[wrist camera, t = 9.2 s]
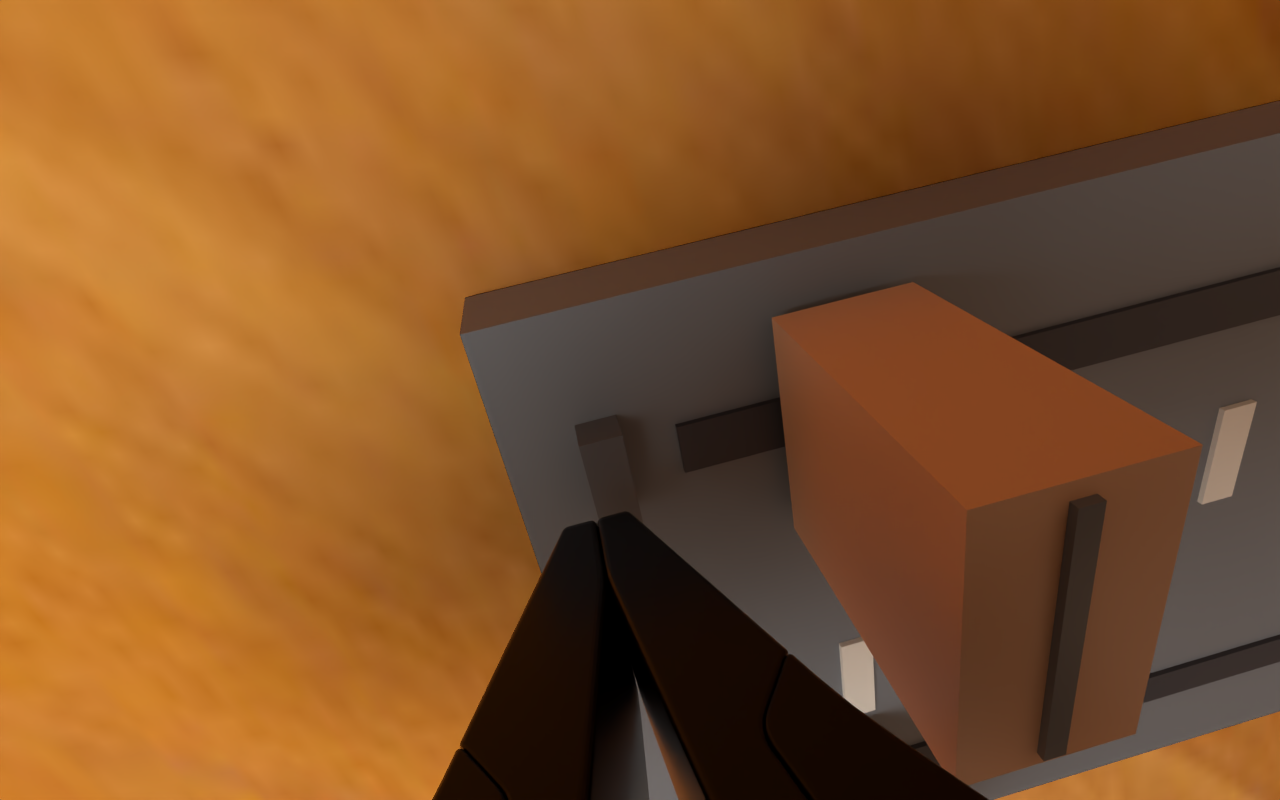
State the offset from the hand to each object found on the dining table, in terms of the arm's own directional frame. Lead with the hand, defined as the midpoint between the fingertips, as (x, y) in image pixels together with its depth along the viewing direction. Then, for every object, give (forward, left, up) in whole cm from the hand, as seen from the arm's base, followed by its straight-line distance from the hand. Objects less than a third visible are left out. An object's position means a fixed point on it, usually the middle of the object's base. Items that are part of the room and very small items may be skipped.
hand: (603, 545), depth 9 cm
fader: (0, -4, -1) cm, 4 cm away
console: (-4, -8, -3) cm, 10 cm away
